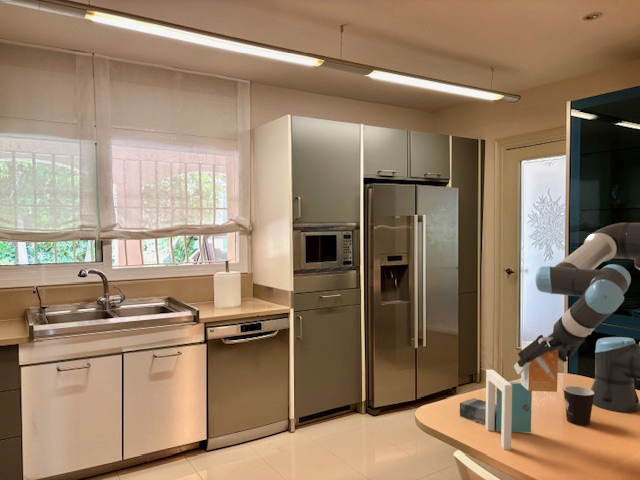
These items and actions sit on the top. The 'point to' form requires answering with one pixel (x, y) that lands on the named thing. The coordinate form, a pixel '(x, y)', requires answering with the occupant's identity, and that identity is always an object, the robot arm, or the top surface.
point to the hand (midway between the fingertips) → (531, 368)
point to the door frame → (506, 388)
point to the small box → (541, 371)
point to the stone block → (475, 410)
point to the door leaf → (516, 408)
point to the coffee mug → (578, 405)
